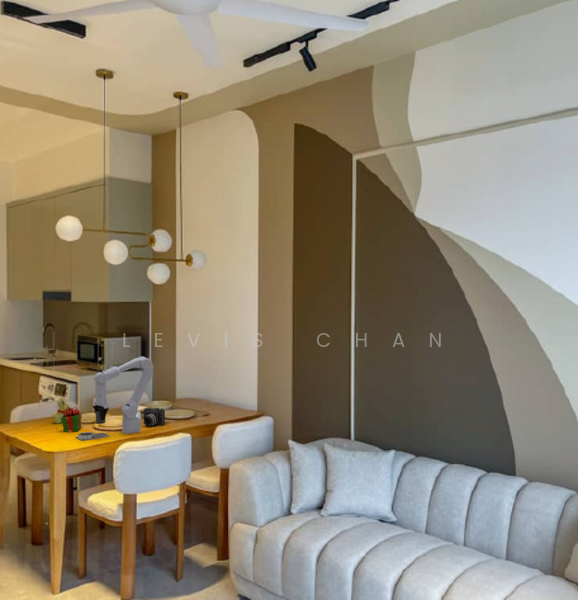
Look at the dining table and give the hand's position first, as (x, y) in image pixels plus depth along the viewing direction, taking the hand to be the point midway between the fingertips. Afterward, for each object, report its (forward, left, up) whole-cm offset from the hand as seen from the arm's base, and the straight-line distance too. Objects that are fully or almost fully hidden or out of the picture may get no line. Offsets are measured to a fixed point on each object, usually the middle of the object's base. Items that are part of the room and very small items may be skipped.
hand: (100, 419), depth 325 cm
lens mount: (+4, 0, -10) cm, 11 cm away
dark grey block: (0, 0, -2) cm, 2 cm away
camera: (-35, -8, -10) cm, 37 cm away
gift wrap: (+9, -19, -10) cm, 24 cm away
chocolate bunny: (+4, -46, -10) cm, 48 cm away
